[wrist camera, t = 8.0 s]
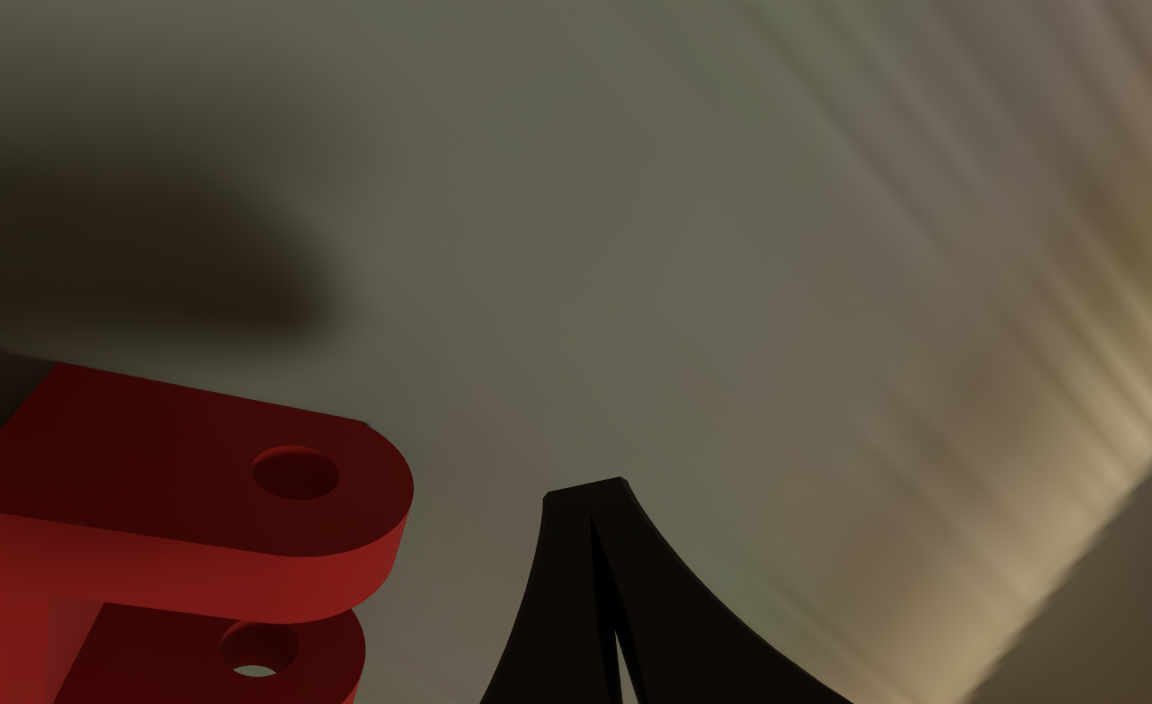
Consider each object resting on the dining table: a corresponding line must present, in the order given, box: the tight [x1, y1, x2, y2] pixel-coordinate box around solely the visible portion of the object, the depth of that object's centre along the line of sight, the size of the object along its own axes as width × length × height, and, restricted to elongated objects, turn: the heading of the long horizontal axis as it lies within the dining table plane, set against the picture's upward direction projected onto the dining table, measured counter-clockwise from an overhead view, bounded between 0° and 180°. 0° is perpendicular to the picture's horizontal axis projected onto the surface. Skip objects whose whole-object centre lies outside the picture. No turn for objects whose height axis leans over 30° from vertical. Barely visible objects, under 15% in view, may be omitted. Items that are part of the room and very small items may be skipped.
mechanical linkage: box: [0, 362, 414, 704], centre depth 18 cm, size 16×7×5 cm, turn 72°
